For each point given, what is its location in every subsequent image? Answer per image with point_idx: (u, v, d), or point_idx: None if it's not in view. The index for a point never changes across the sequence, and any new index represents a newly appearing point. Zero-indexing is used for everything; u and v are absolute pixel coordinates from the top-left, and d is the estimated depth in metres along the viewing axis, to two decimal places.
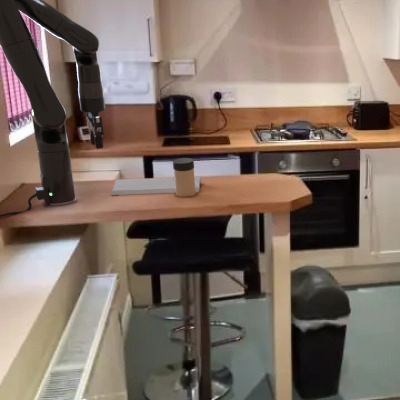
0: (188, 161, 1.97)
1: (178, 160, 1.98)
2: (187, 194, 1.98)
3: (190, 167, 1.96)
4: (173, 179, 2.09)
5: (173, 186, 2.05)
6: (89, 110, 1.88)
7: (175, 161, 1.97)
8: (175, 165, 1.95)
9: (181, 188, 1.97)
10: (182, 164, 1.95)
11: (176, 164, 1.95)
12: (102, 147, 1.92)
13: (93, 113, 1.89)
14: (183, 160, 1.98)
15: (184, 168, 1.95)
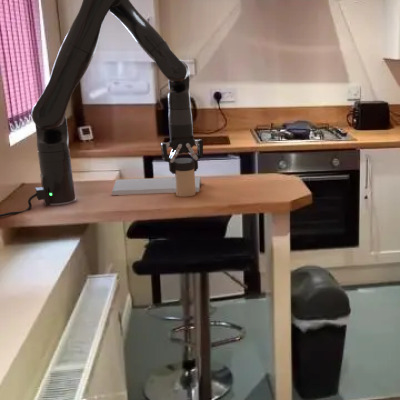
0: (189, 161, 1.97)
1: (179, 160, 1.98)
2: (187, 194, 1.98)
3: (191, 167, 1.96)
4: (173, 179, 2.09)
5: (173, 186, 2.05)
6: None
7: (176, 161, 1.97)
8: (176, 165, 1.95)
9: (181, 187, 1.97)
10: (183, 164, 1.94)
11: (176, 164, 1.95)
12: (172, 173, 1.97)
13: (170, 138, 1.95)
14: (184, 160, 1.98)
15: (185, 168, 1.95)
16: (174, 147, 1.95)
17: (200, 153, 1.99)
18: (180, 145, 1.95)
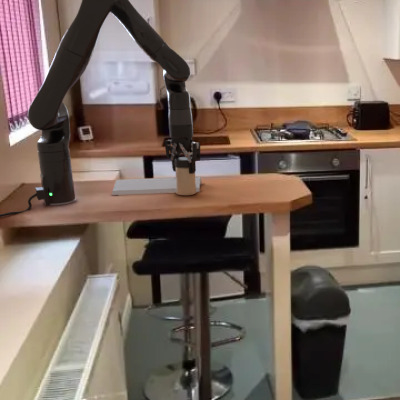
0: (186, 157, 2.01)
1: (185, 159, 1.97)
2: (187, 192, 1.98)
3: None
4: (173, 179, 2.09)
5: (173, 186, 2.05)
6: (185, 136, 1.93)
7: None
8: None
9: (181, 185, 1.98)
10: None
11: None
12: (194, 172, 1.98)
13: (188, 138, 1.94)
14: (184, 158, 1.99)
15: None
16: None
17: None
18: None
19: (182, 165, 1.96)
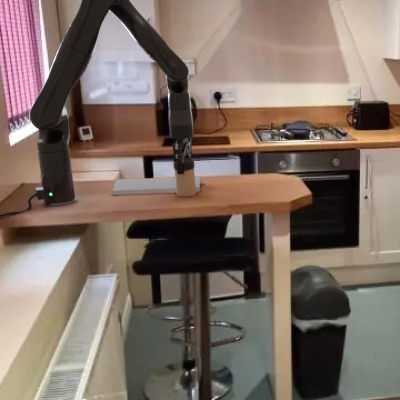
0: (184, 158, 2.00)
1: (184, 161, 1.96)
2: (187, 194, 1.98)
3: None
4: (173, 179, 2.09)
5: (173, 186, 2.05)
6: (173, 136, 1.93)
7: (188, 161, 1.96)
8: (193, 163, 1.98)
9: (181, 187, 1.98)
10: None
11: (193, 161, 1.98)
12: (183, 173, 1.95)
13: (177, 140, 1.93)
14: None
15: None
16: (183, 147, 1.94)
17: (191, 150, 2.03)
18: (187, 145, 1.96)
19: None
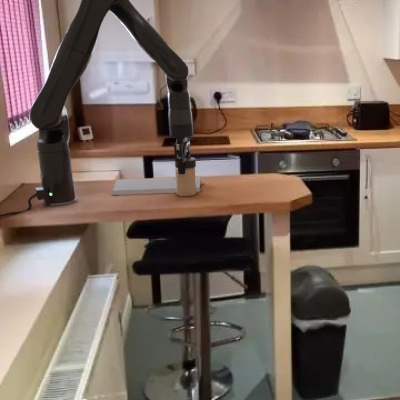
0: None
1: (190, 159, 1.98)
2: (188, 193, 1.98)
3: None
4: (173, 179, 2.09)
5: (173, 186, 2.05)
6: (174, 136, 1.93)
7: (192, 158, 1.99)
8: None
9: (181, 186, 1.98)
10: None
11: None
12: (184, 173, 1.96)
13: (177, 139, 1.93)
14: (185, 159, 1.98)
15: None
16: (183, 147, 1.94)
17: (189, 151, 2.03)
18: (187, 144, 1.96)
19: (192, 165, 1.97)
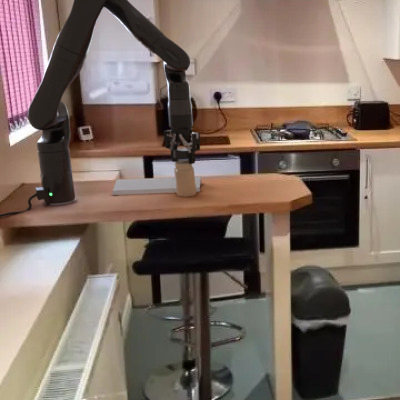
0: (177, 150, 1.97)
1: None
2: (188, 194, 1.99)
3: None
4: (173, 179, 2.09)
5: (173, 186, 2.05)
6: (185, 126, 1.92)
7: (186, 148, 2.00)
8: None
9: (181, 188, 1.98)
10: None
11: None
12: (194, 162, 1.97)
13: (188, 129, 1.93)
14: (184, 149, 1.98)
15: None
16: None
17: None
18: None
19: None
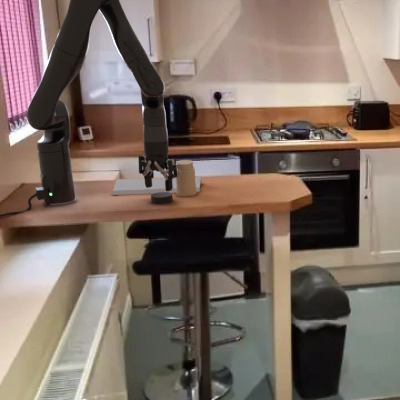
0: (154, 195, 1.91)
1: (165, 193, 1.93)
2: (188, 194, 1.99)
3: (151, 201, 1.91)
4: (174, 179, 2.09)
5: (173, 186, 2.05)
6: (160, 153, 1.86)
7: (164, 192, 1.94)
8: None
9: (182, 187, 1.98)
10: None
11: None
12: (171, 189, 1.91)
13: (164, 156, 1.87)
14: (162, 194, 1.92)
15: None
16: None
17: None
18: None
19: None
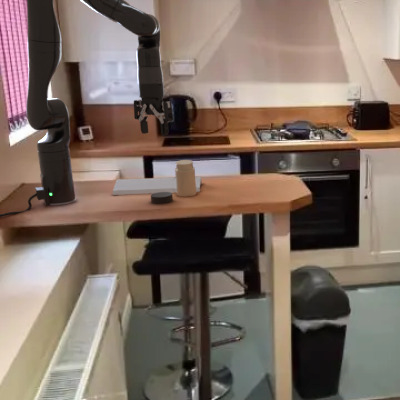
0: (154, 195, 1.91)
1: (165, 193, 1.93)
2: (188, 194, 1.99)
3: (151, 201, 1.91)
4: (174, 179, 2.09)
5: (173, 186, 2.05)
6: (155, 96, 1.80)
7: (164, 192, 1.94)
8: None
9: (182, 187, 1.98)
10: None
11: None
12: (167, 134, 1.85)
13: (159, 99, 1.81)
14: (162, 194, 1.92)
15: None
16: None
17: None
18: None
19: None
